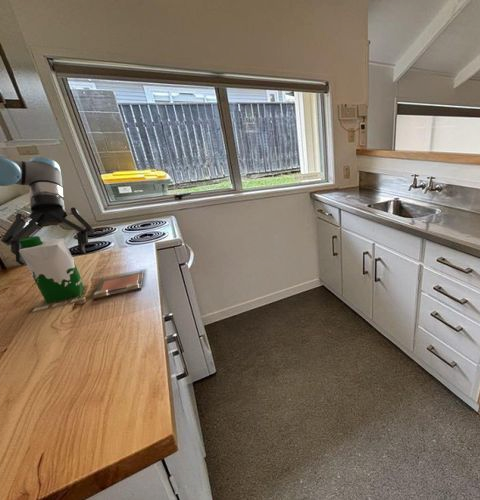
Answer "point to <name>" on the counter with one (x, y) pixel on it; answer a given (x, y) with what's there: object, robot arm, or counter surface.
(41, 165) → the robot arm
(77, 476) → the counter surface
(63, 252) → the soya milk
